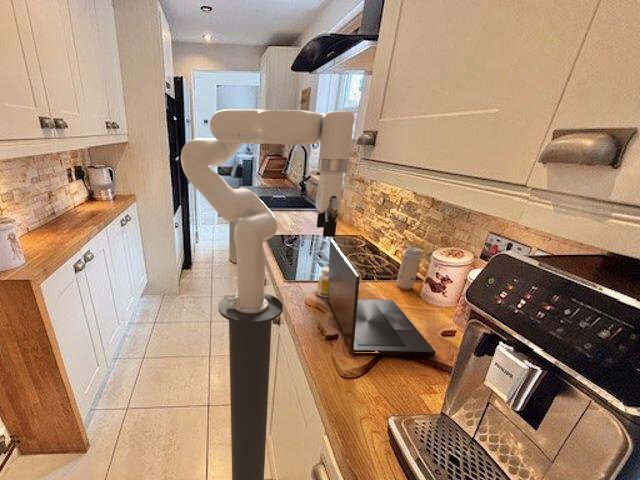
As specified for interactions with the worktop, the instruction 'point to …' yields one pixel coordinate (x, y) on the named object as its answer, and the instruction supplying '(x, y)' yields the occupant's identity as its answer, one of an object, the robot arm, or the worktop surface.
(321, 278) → the supplement bottle
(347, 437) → the worktop surface
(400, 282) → the energy drink can
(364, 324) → the laptop
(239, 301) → the robot arm
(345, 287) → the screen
